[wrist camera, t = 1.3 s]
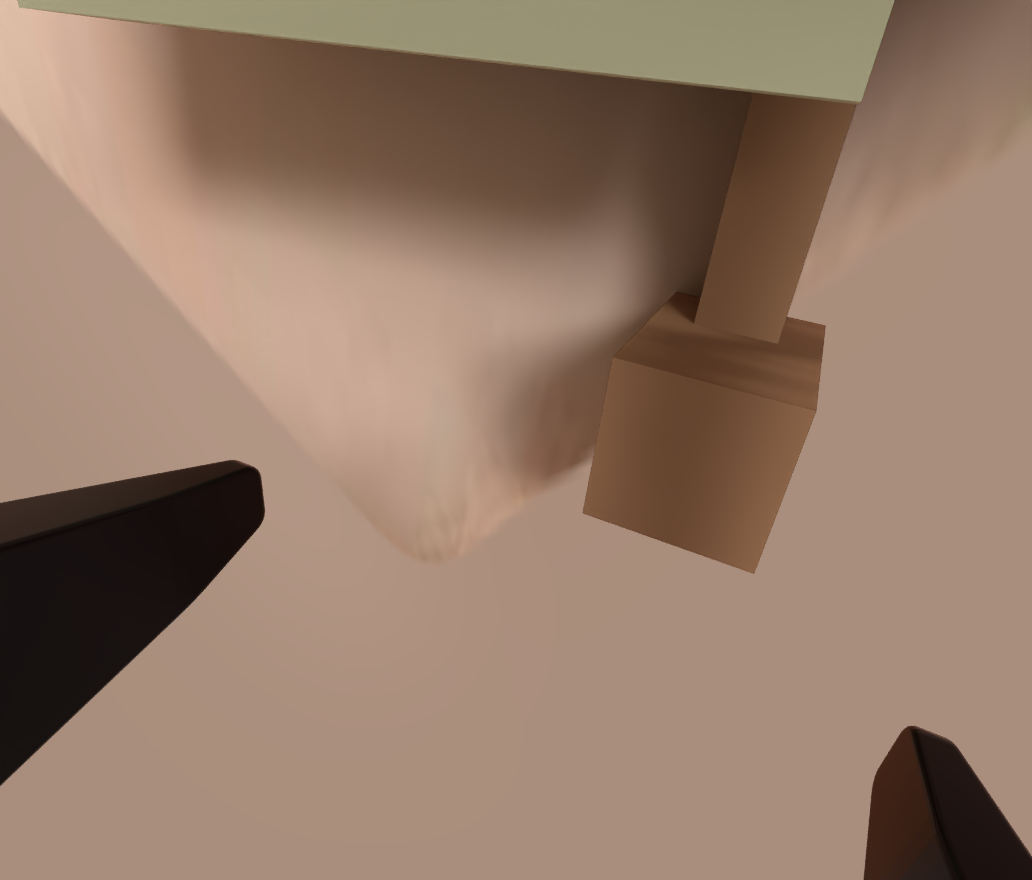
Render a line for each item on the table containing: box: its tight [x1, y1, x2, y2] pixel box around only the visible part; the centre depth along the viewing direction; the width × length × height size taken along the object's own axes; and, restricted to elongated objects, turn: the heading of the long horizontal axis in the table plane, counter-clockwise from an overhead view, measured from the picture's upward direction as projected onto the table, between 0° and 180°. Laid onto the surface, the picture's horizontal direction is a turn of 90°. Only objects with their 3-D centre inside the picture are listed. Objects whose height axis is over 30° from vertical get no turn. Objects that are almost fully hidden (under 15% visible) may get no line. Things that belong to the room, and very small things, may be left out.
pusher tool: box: [583, 93, 856, 574], centre depth 14 cm, size 4×14×6 cm, turn 173°
